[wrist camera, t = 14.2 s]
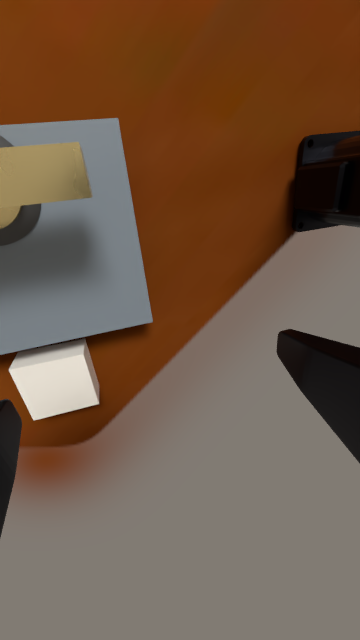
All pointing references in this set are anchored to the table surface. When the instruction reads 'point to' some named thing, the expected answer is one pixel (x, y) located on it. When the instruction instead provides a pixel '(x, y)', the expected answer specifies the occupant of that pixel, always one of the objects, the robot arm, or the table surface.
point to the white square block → (56, 378)
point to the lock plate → (72, 248)
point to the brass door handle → (40, 177)
